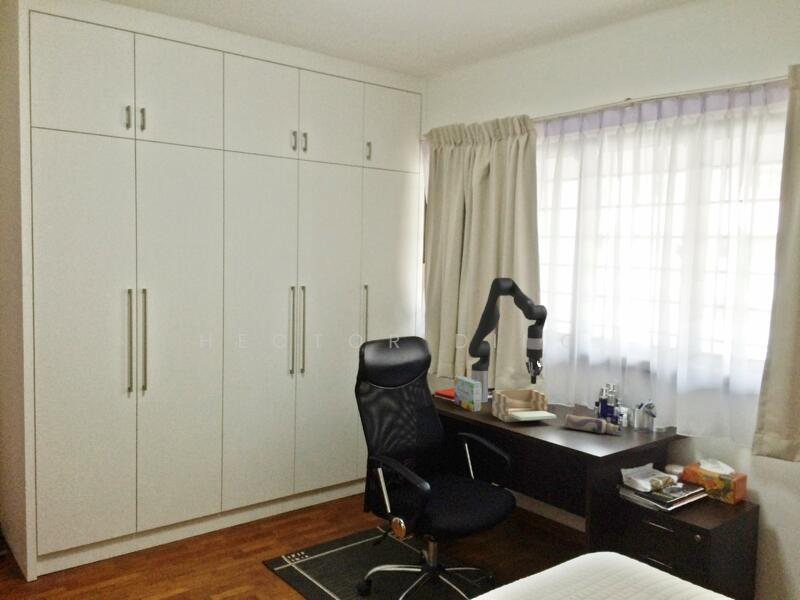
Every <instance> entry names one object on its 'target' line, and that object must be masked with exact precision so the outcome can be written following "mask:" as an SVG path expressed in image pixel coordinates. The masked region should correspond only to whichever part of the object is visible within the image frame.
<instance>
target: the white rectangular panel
mask: <svg viewBox="0 0 800 600" xmlns="http://www.w3.org/2000/svg"><path fill="white" fill-rule="evenodd" d="M509 416H511V417H514V418H516V419H519V420H525V421H524V422H530V421H545V420H546V421H547V420H548V421H549V420H550V419H557V414H554V413H551V412H548V411H547V412H546V411H533V412H515V413H509Z"/></svg>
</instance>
